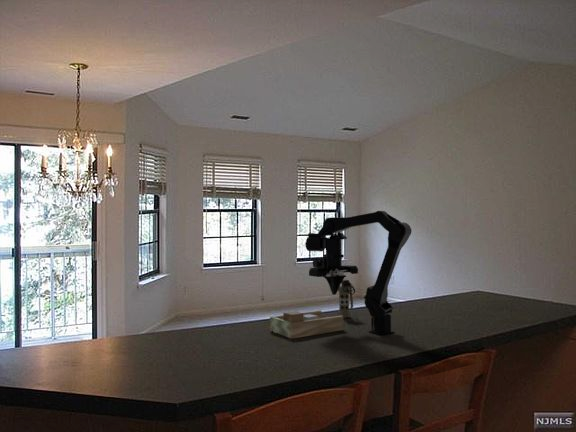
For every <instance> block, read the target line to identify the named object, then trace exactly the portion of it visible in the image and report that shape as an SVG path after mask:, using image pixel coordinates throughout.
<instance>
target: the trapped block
mask: <svg viewBox="0 0 576 432" xmlns="http://www.w3.org/2000/svg"><path fill="white" fill-rule="evenodd" d="M314 319H318V316H316V315H311V314H307V315H304V321H307V320H314Z"/></svg>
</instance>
